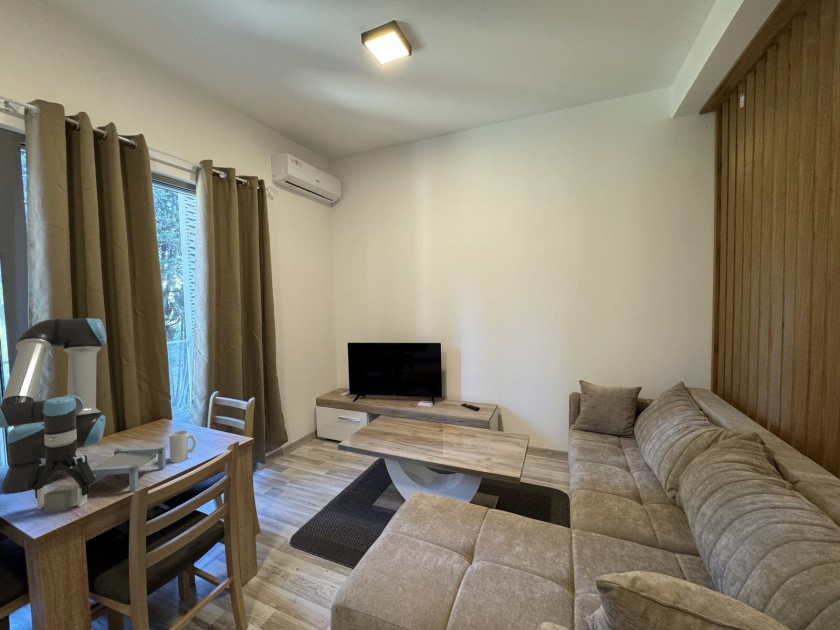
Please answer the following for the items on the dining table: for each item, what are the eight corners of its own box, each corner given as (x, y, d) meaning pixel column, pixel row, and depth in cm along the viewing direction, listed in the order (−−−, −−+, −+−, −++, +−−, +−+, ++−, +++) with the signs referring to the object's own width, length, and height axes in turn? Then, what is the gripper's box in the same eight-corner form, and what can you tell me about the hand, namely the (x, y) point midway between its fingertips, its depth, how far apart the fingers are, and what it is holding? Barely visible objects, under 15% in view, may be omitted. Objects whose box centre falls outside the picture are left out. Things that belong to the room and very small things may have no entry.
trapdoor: (90, 471, 125) (90, 468, 125) (119, 454, 138) (119, 452, 138) (131, 473, 126) (132, 470, 126) (156, 456, 140) (156, 454, 140)
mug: (167, 464, 146) (166, 436, 146) (172, 457, 153) (172, 431, 152) (193, 460, 150) (193, 434, 149) (198, 454, 156) (198, 428, 156)
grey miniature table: (79, 494, 122) (79, 470, 122) (118, 470, 141) (117, 449, 140) (135, 491, 125) (134, 467, 125) (165, 467, 143) (165, 446, 143)
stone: (44, 512, 112) (43, 494, 112) (61, 502, 118) (60, 485, 118) (64, 511, 113) (64, 493, 113) (80, 500, 119) (79, 484, 119)
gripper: (9, 449, 110) (11, 515, 110) (90, 445, 113) (92, 509, 113) (32, 440, 117) (34, 501, 118) (108, 437, 120) (109, 496, 121)
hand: (62, 505), depth 116 cm, fingers open, 11 cm apart
